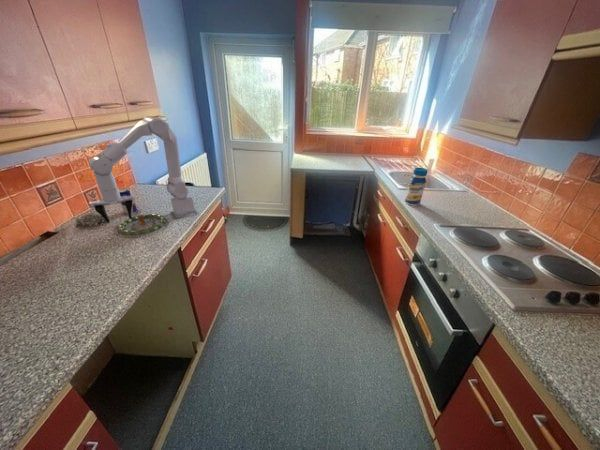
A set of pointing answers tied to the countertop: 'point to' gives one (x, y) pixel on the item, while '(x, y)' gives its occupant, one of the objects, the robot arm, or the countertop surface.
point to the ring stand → (141, 220)
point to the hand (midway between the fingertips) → (119, 219)
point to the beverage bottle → (416, 186)
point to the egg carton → (93, 220)
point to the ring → (126, 232)
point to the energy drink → (124, 193)
